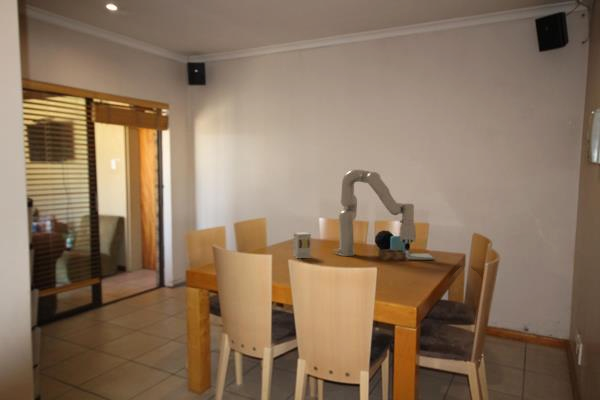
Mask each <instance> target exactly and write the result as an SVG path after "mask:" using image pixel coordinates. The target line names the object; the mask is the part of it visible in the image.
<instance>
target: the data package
mask: <svg viewBox="0 0 600 400" xmlns="http://www.w3.org/2000/svg"><path fill="white" fill-rule="evenodd" d="M399 239H400V235H393V236H391V238H390V249H389V250H403V253H405V251H408V252H409V253H410V249H409V250H406V249H405V243H404V242H403V241H400V240H399ZM407 243H408V240H407Z"/></svg>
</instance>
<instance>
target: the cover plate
mask: <svg viewBox="0 0 600 400" xmlns="http://www.w3.org/2000/svg"><path fill="white" fill-rule="evenodd" d="M405 253H406V259H408V260H411V261H430V260H434V256H432V255H431V254H430V253H410V251H409V252H408V251H405Z"/></svg>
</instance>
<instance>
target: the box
mask: <svg viewBox="0 0 600 400" xmlns="http://www.w3.org/2000/svg"><path fill="white" fill-rule="evenodd" d="M377 255H378V258H379V259H380V261H406V260H407V257H406V253H403V250H390V249H388V250H381V249H378V254H377Z"/></svg>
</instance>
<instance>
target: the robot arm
mask: <svg viewBox="0 0 600 400" xmlns="http://www.w3.org/2000/svg"><path fill="white" fill-rule="evenodd" d="M355 183H364V184H368V185H369V186H370V188H371V189H372V190H373V192H374V193H375V194H376V195H377V197H378V198H379V200H380V201H381V203H382V204H383V206H384V207H385V208H386V209H387V211H388V213H390V214H391V215H393V216H398V215H401V220H399V223H400V227H399V236H400V239H399V240H400V241H403V242H404V243H405V249H406V250H409V251H410V248H411V243H413V242H416V240H417V229H416V225H415V223H414V219H415V218H414V217H415V216H414V215H415V212H414V211H415V206H414V204H413V203H402V202H401V203H400V202H396V200H395V199H394V197H393V196H392V194H391V192H390V189H389V187H388V186H387V185H386V183H385V182H384V181H383V180H382V179H381V174H380V173H378V172H376V171H370V170H363V169H352V170H350V171H348V172H347V173H345V175H344V176H343V178H342V182H341V197H340V198H341V199H340V203H341V205H342V207H343V209H342V211H341V212H340V213H339V215H338V222H339V223H338V224H339V247H338V248H333V249H332V252H335V253H337V255H338V256H340V257H341V256H343V257H352V256H353V257H354V256H356V252H355V251H354V221H355V220H356V217H357V210H358V209H357V208H358V199H357V196H356V195H355ZM407 240H408V243H407Z"/></svg>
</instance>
